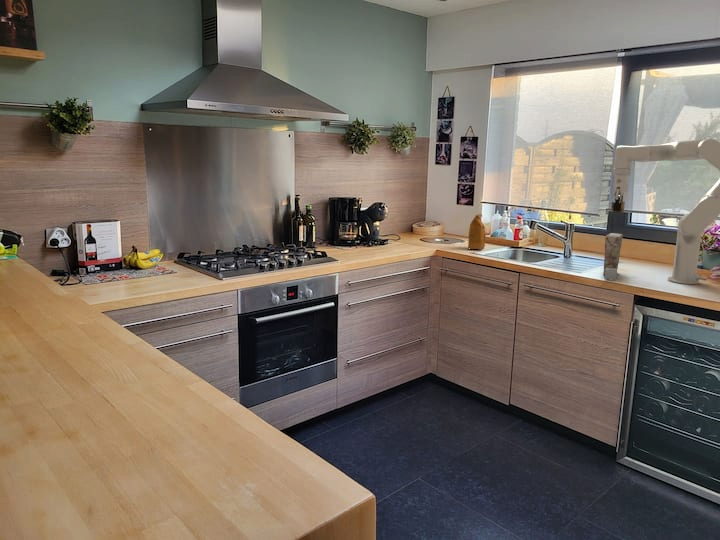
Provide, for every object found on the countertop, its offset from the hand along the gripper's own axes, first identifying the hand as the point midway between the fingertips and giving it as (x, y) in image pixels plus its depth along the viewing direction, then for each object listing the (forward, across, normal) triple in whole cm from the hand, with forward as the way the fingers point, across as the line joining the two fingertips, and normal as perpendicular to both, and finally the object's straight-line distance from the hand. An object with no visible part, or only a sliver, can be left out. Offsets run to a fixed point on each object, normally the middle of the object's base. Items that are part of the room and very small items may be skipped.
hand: (617, 210), depth 264 cm
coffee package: (+32, +36, +84) cm, 97 cm away
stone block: (+32, 0, 0) cm, 32 cm away
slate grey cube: (+32, -12, -2) cm, 34 cm away
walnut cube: (+1, 0, 0) cm, 1 cm away
